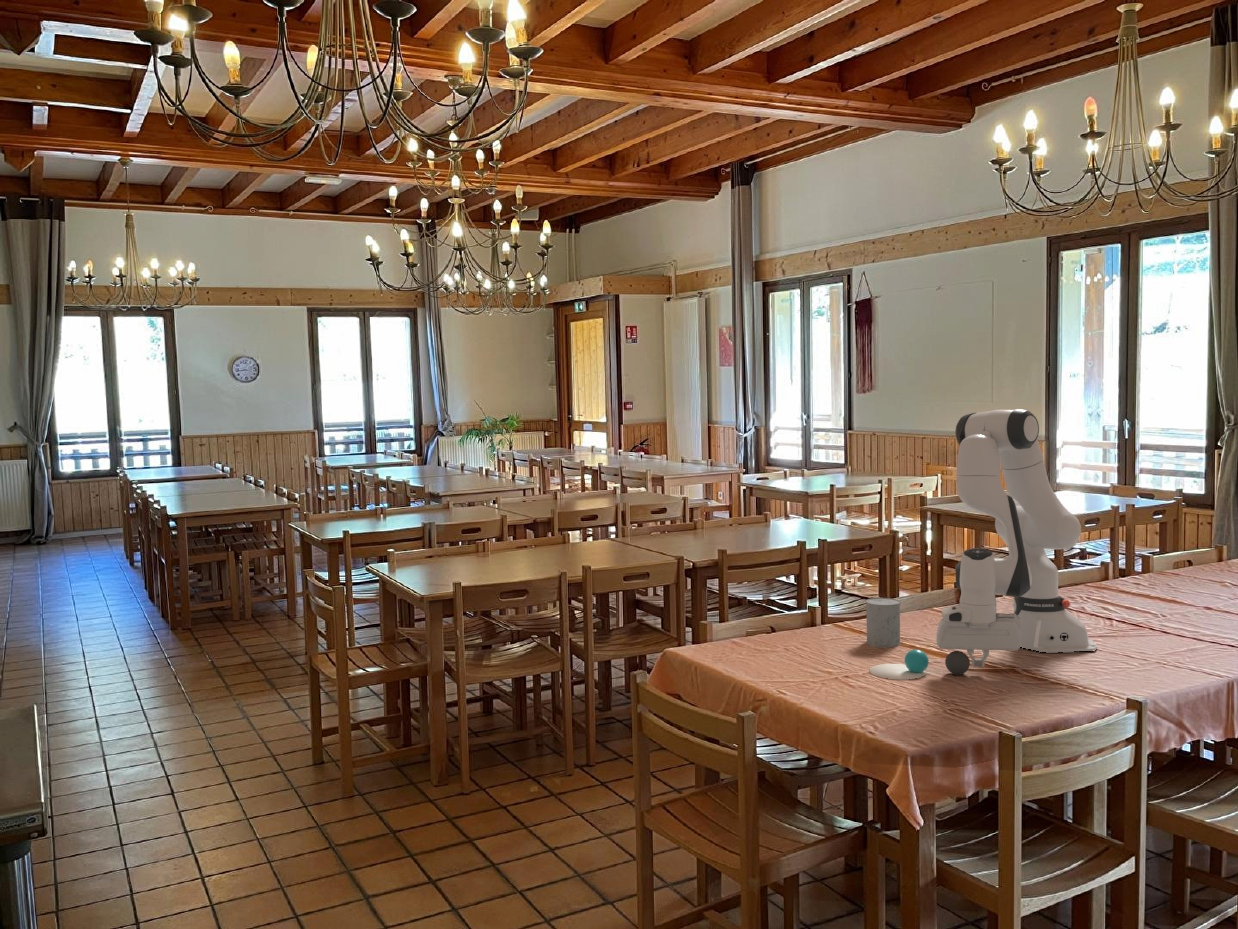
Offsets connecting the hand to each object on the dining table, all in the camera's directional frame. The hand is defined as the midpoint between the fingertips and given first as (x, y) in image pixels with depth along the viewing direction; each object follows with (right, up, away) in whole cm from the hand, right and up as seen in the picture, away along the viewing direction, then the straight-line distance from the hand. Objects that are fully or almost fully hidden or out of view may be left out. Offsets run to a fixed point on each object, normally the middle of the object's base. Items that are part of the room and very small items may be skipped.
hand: (978, 666), depth 256 cm
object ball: (-15, +1, +3) cm, 15 cm away
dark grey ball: (-5, +1, +1) cm, 5 cm away
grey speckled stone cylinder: (-16, 0, +33) cm, 36 cm away
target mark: (-20, -2, +4) cm, 20 cm away
